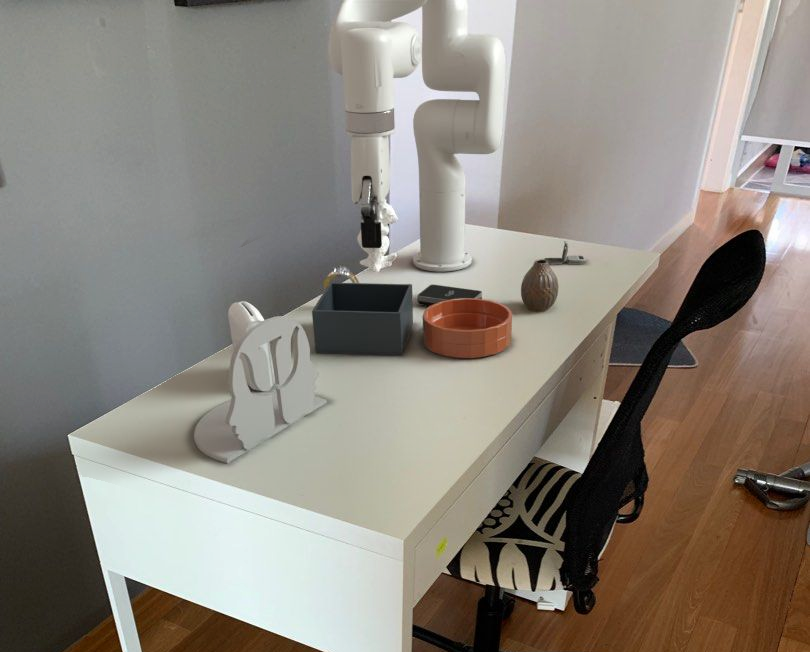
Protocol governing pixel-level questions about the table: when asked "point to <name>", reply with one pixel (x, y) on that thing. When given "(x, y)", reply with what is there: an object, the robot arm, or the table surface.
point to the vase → (539, 287)
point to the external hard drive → (445, 294)
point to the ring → (340, 272)
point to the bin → (363, 319)
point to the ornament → (264, 412)
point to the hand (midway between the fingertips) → (375, 239)
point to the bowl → (467, 327)
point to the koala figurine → (376, 254)
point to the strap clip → (570, 259)
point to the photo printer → (240, 323)
